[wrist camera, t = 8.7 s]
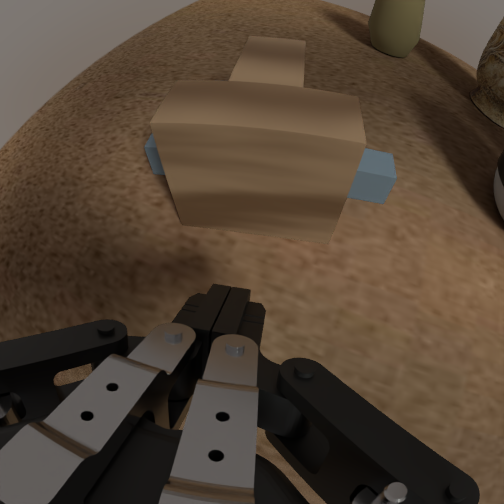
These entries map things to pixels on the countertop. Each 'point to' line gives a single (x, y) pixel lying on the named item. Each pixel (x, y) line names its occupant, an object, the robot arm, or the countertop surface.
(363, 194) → the t socket
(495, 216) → the countertop surface
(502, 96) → the vase
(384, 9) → the squeeze bottle
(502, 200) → the roly-poly penguin toy
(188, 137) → the t block
